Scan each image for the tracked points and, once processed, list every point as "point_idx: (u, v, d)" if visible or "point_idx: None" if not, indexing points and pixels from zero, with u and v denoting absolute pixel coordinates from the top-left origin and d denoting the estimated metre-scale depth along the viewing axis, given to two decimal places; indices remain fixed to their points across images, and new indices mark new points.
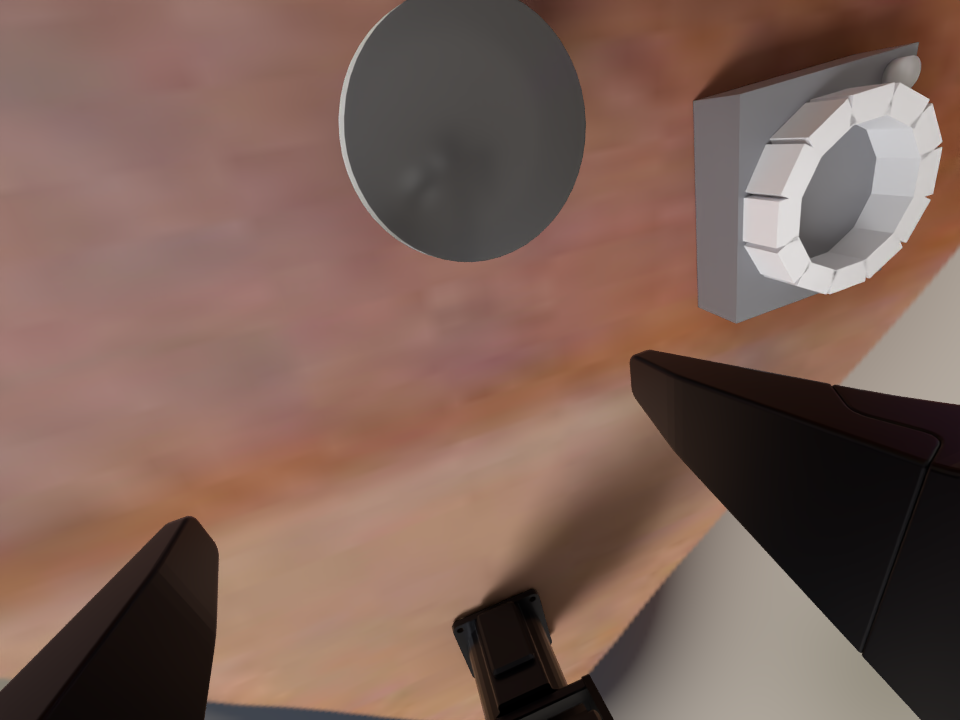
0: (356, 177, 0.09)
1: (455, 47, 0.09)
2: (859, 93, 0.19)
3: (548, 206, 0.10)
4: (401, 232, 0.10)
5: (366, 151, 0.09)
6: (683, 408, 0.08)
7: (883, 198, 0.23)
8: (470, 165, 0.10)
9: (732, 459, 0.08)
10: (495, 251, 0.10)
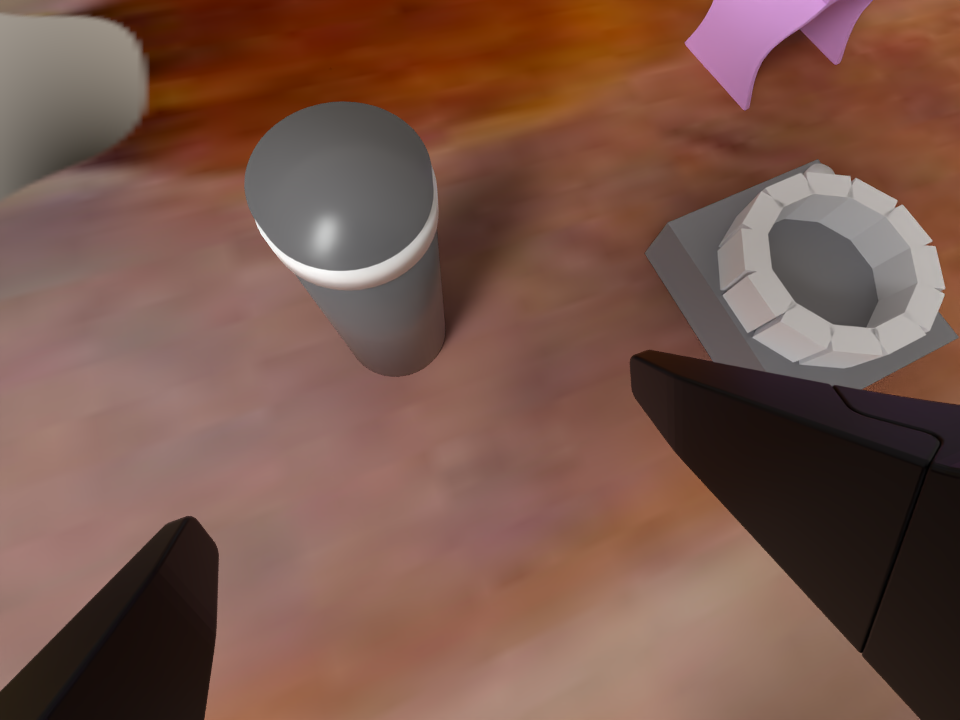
0: (251, 210, 0.12)
1: (321, 131, 0.13)
2: (770, 186, 0.22)
3: (411, 209, 0.12)
4: (285, 241, 0.12)
5: (259, 194, 0.12)
6: (683, 408, 0.08)
7: (885, 264, 0.22)
8: (339, 191, 0.12)
9: (732, 459, 0.08)
10: (369, 246, 0.12)
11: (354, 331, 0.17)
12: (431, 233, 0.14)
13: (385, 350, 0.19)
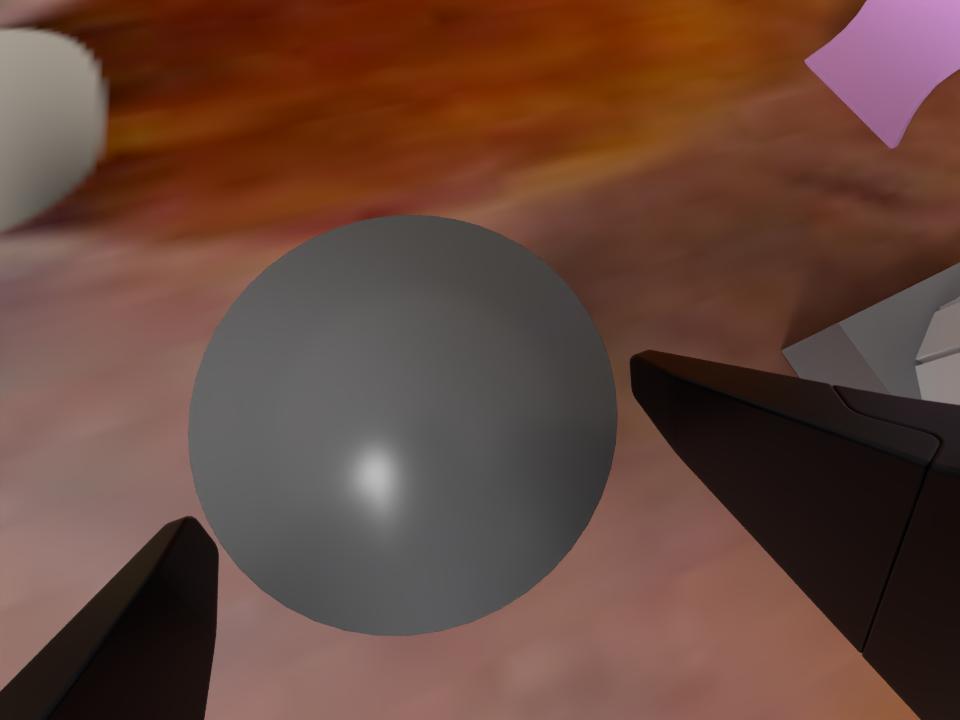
0: (202, 498, 0.05)
1: (364, 285, 0.06)
2: None
3: (577, 484, 0.05)
4: (283, 590, 0.05)
5: (222, 452, 0.05)
6: (683, 408, 0.08)
7: None
8: (409, 440, 0.05)
9: (732, 459, 0.08)
10: (487, 598, 0.05)
11: None
12: None
13: None
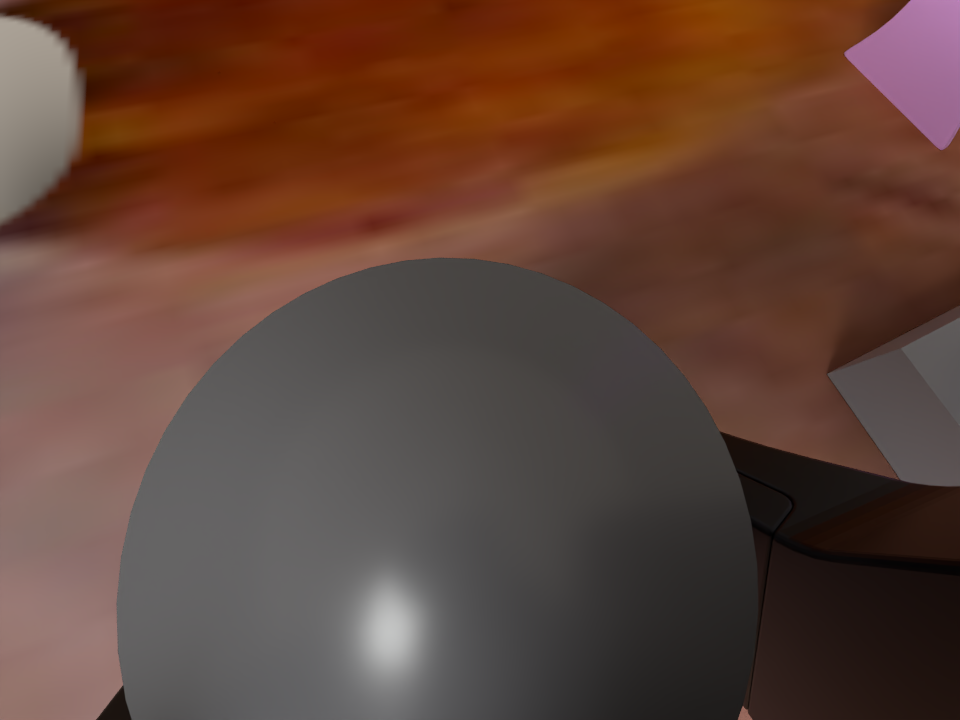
0: (135, 713, 0.03)
1: (381, 363, 0.04)
2: None
3: (707, 680, 0.03)
4: None
5: (169, 633, 0.03)
6: None
7: None
8: (451, 609, 0.04)
9: None
10: None
11: None
12: None
13: None
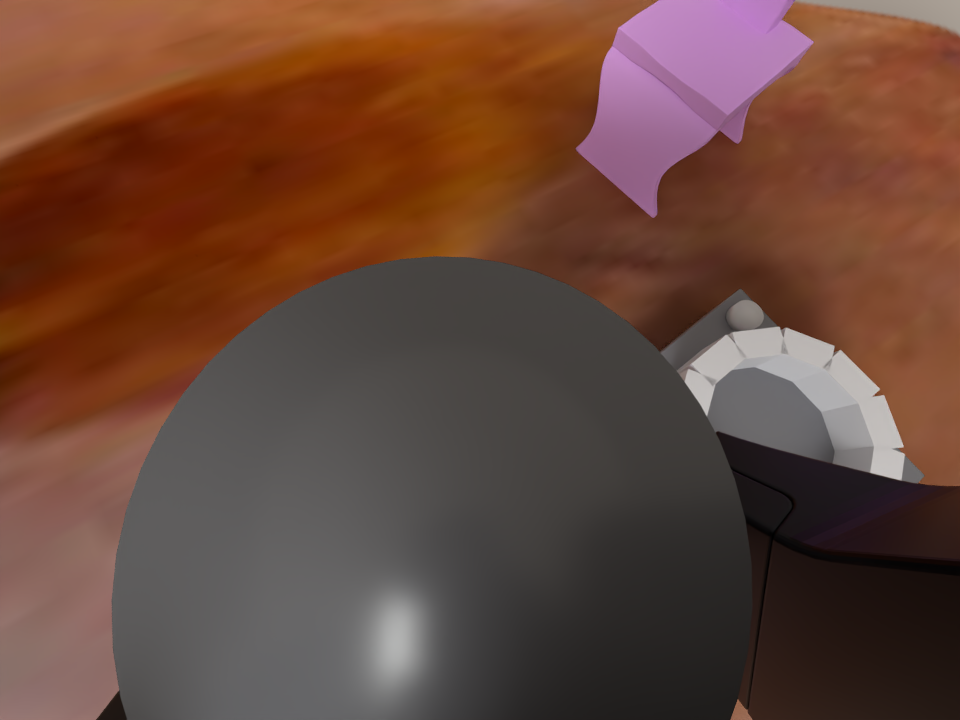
0: (130, 710, 0.03)
1: (376, 362, 0.04)
2: (697, 359, 0.19)
3: (701, 677, 0.03)
4: None
5: (163, 630, 0.03)
6: None
7: (834, 413, 0.20)
8: (446, 606, 0.04)
9: None
10: None
11: None
12: None
13: None
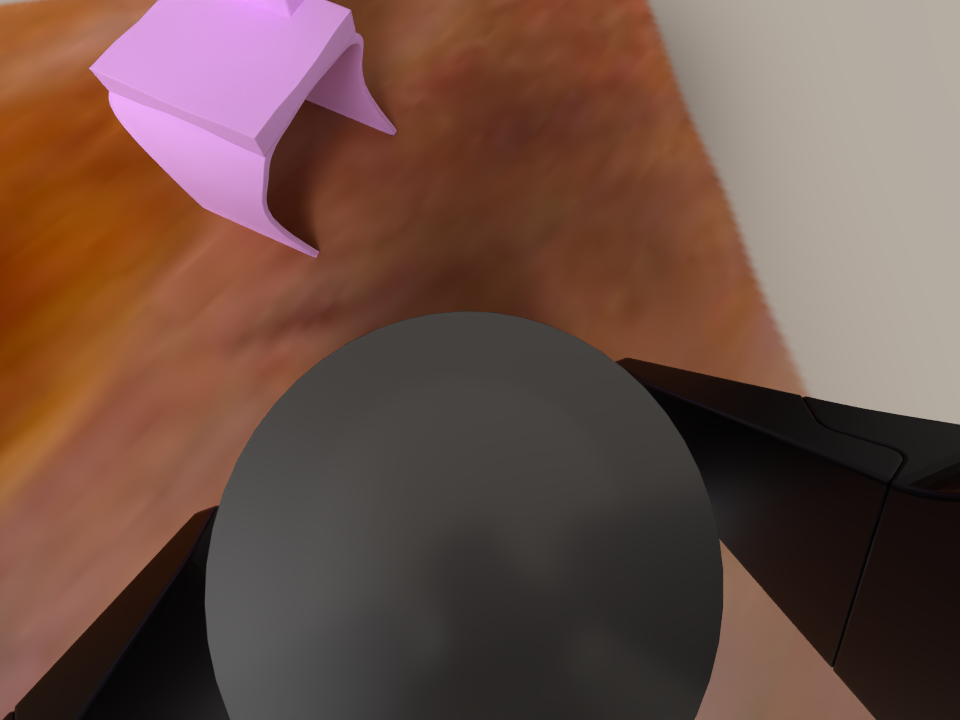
0: (224, 691, 0.04)
1: (415, 403, 0.05)
2: None
3: (681, 663, 0.04)
4: None
5: (248, 627, 0.04)
6: None
7: None
8: (477, 607, 0.04)
9: (706, 470, 0.08)
10: None
11: None
12: None
13: None
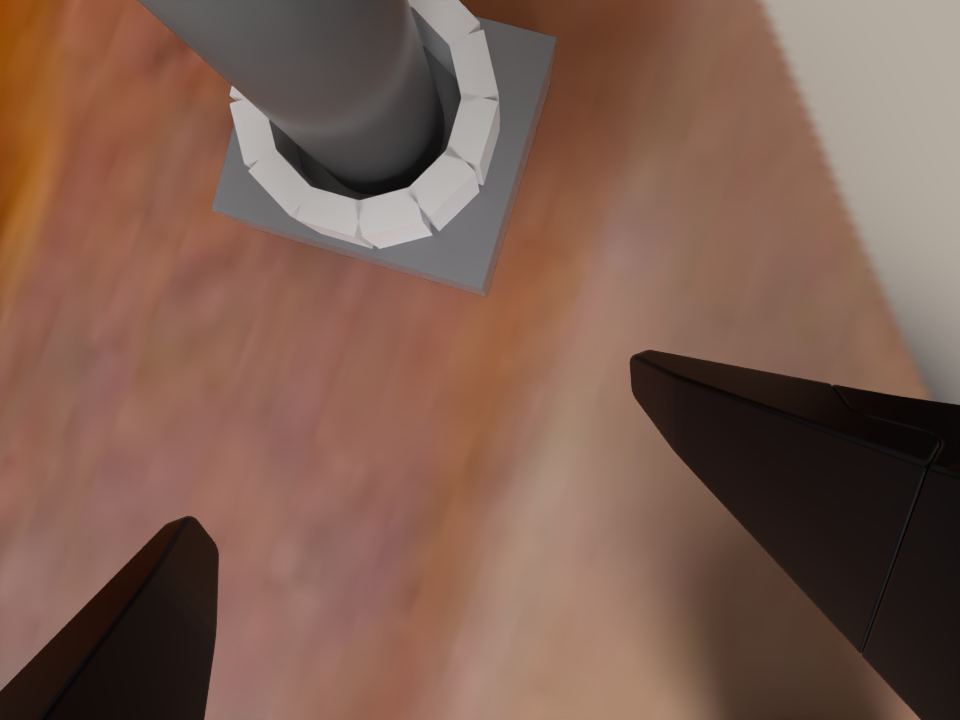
0: None
1: None
2: None
3: None
4: None
5: None
6: (683, 408, 0.08)
7: (424, 37, 0.16)
8: None
9: (732, 459, 0.08)
10: None
11: (297, 112, 0.11)
12: None
13: (359, 141, 0.13)
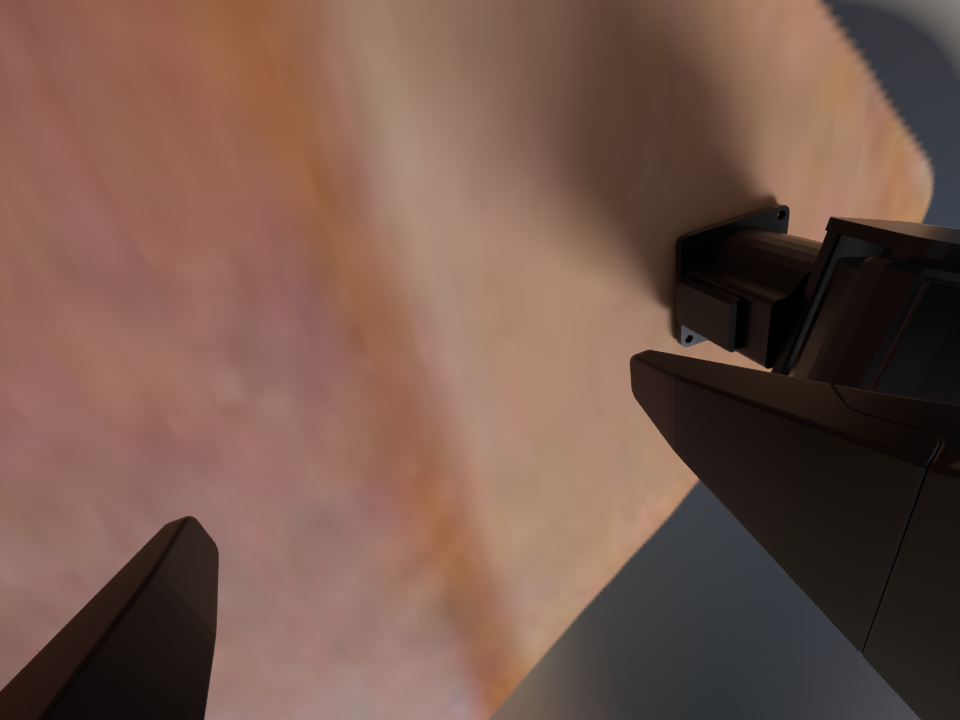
0: None
1: None
2: None
3: None
4: None
5: None
6: (683, 408, 0.08)
7: None
8: None
9: (732, 459, 0.08)
10: None
11: None
12: None
13: None
